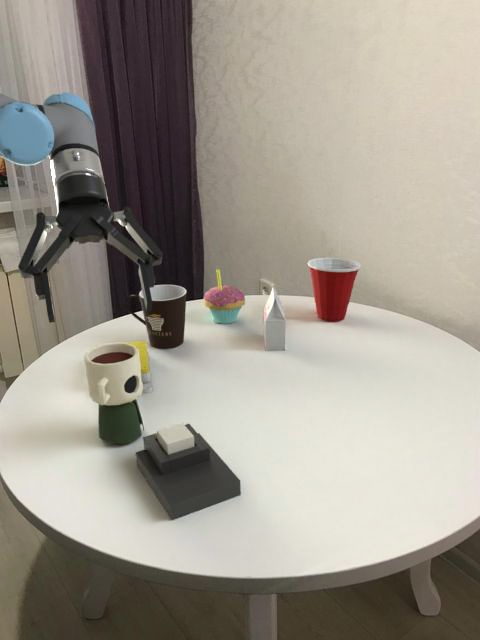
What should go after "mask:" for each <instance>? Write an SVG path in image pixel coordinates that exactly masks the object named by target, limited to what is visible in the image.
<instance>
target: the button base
mask: <svg viewBox="0 0 480 640" xmlns="http://www.w3.org/2000/svg"><path fill="white" fill-rule="evenodd" d="M184 425H185V426H186V427H187V429H188V430H189V431H190V432H191V433H192V435H193V436H194V447H191V448H188V449H185V450H182V451H179V452H176V453H172V454H169V455H167V453H166V452H165V451H164V449H163V448H162V447H161V445H160V444H159V443H158V438H157V432H155V433H152V434H148V435H145V436H142V440H143V449H141V450H139V451H137V452H136V451H135V459H136V466H137V468H138V470H139V471H140V473H141V475H142V476H143V478H144V479H145V481H146V482H147V484H148V486H149V487H150V488H151V490H152V492H153V493H154V495H155V496H156V498H157V500H158V501H159V503H160V504H161V506H162V507H163V509H164V511H165V512H166V514H167V515H168V517H169V518H170V520H171V521H175V520H177V519H181V518H183V517H185V516H188V515H191V514H193V513H196V512H199V511H202V510H204V509H207V508H210V507H212V506H215V505H218V504H221V503H224V502H226V501H229V500H231V499H234V498H237V497H239V496H241V495H242V494H241V493H242V492H241V479H240V478H239V477H238V476H237V474H236V473H234V472H233V470H232V469H231V468H230V467H229V466H228V465H227V463H226V462H225V461H224V460H223V459H222V458H221V456H219V454H218V453H217V452H216V451H215V449H214V448H213V447H212V446H211V445H210V444H209V442H207V440H206V439H205V438H204V436H202V434H201V433H199V432H197V431H196V429H195V428H194V427H193V426H192V424H190V423H184Z"/></svg>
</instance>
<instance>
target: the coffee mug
mask: <svg viewBox="0 0 480 640" xmlns="http://www.w3.org/2000/svg"><path fill="white" fill-rule="evenodd" d="M150 292H151V297H152V302H153V303H152V309H151V310H149V311H146V307H145V302H144V297H143V292H142V289H141V290H140V291H139V293H138V295H137V294H131V295H129V296H127V297H126V299H125V303H124V304H125V307H126V309H127V311H128V312H129V313H130V314H131V315H132V316H133V317H134V318H135V319H136V320H137V321H139V322H140V323H142V324H143V325H144V326H145V327H146V333H147V336H148V341H149V344H150V346H151V347H152V348H154V349H159V350H171V349H176V348H178V347H181V346H182V345H183V344H184V341H185V327H186V310H187V292H188V291H187V289H186V288H185V287H183V286H181V285H176V284H156V285H154V287H152V288H150ZM131 299H136V300H137V301H139V302H140V307H141V310H142V314H143V318H142V317H141V316H139V315H137V313H135V312H134V310H133V309H132V308H131V307H130V303H129V302H130V300H131Z"/></svg>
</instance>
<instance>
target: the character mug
mask: <svg viewBox="0 0 480 640" xmlns="http://www.w3.org/2000/svg"><path fill="white" fill-rule="evenodd" d="M127 343H128V342H120V341H119V342H108V343H102V344H98V345H99V346H98V345H95V346H96V347H95V346H94V347H91V348H90V349H88V350H87V351H86V352H85V353H84V356H83V358H84V359H83V360H84V367H85V372H86V379H87V386H88V393H89V396H90V399H91V400H92V402H94V403H96V404H98V419H97V420H98V421H97V422H98V424H97V425H98V437H99V439H101V440H103V441H104V442H107V443H112V444H120V445H121V444H123V445H126V444H130V443H133V442H135V441H137V440H138V439H140V438H141V437H142V436H143V434H142V433H143V432H145V426H144V422H143V418H142V414H141V411H140V407H139V403H138V400H137V399H138V398H140V397H141V396H142V390H143V383H142V381H141V363H140V358H139V350H138V349H137V348H136V346H133V345H131V344H127ZM141 426H142V428H141ZM142 430H143V432H142Z"/></svg>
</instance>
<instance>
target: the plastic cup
mask: <svg viewBox="0 0 480 640" xmlns="http://www.w3.org/2000/svg"><path fill="white" fill-rule="evenodd" d="M306 262H307V265H308V267H309V273H310V276H311V277H310V278H311V281H312V290H313V297H314V299H313V300H314V303H315V310H316V311H315V312H316V315H317V318H318V319H319V320H320V321H323V322H326V323H339V322H343V321H344V320H345V318H346V315H347V313H348V312H347V311H348V307H349V305H350V300H351V296H352V293H353V288H354V284H355V281H356V277H357V276H358V275H357V274H358V272H359V270H360V269H361V268H362V264H361V263H360V262H359V261H355V260H353V259H347V258H340V257H317V258H312V259H309V260H308V261H306Z"/></svg>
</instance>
